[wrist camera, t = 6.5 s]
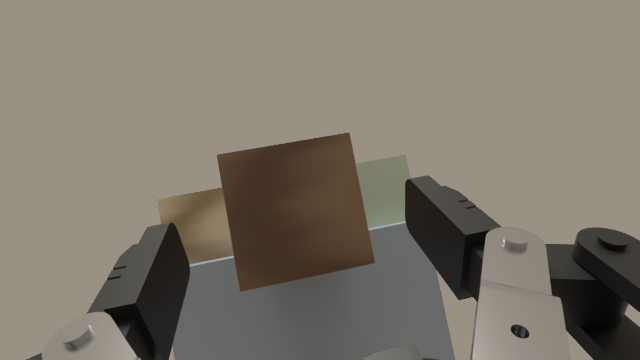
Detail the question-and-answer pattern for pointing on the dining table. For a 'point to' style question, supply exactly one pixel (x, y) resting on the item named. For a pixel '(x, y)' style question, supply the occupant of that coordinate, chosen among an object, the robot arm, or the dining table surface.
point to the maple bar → (199, 223)
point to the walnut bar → (294, 211)
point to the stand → (318, 309)
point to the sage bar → (383, 189)
